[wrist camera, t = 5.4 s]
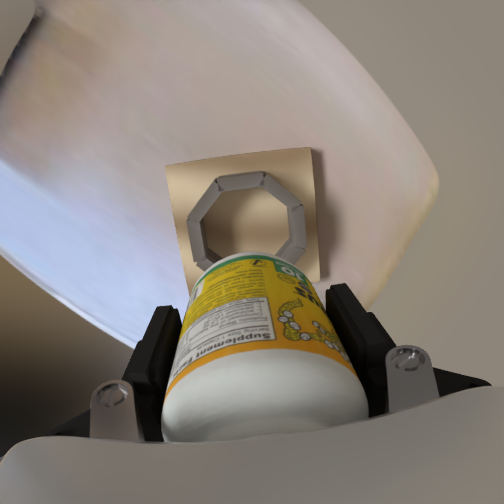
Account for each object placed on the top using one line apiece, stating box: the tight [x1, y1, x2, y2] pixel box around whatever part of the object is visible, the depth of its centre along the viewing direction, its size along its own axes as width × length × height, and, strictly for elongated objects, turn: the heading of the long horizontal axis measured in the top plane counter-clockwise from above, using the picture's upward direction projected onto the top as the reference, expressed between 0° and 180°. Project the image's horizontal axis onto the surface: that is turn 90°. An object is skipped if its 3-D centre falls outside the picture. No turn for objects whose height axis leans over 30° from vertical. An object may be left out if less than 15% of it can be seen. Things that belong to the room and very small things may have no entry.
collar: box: [165, 147, 320, 296], centre depth 26 cm, size 12×12×4 cm
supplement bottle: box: [161, 251, 369, 442], centre depth 9 cm, size 5×5×10 cm
